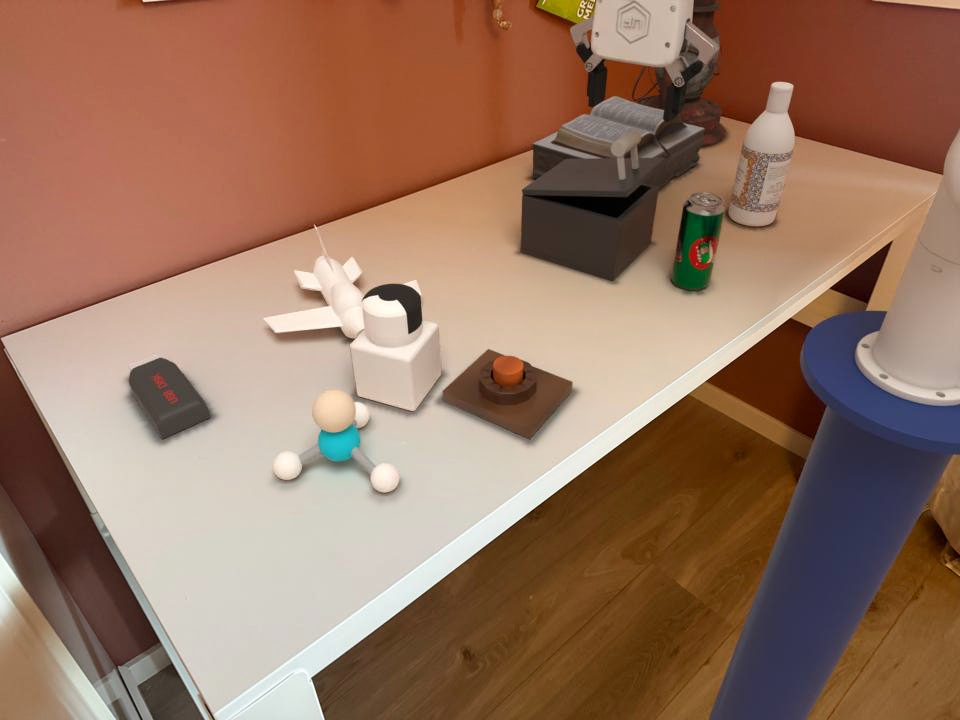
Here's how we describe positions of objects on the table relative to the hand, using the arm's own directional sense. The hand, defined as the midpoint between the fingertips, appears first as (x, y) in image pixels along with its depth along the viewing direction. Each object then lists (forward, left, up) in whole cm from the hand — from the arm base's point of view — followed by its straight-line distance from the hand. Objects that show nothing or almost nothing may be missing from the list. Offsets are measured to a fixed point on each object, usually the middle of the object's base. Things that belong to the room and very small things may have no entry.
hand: (632, 110), depth 84 cm
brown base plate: (-1, +30, -22) cm, 37 cm away
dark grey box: (+7, -4, -22) cm, 24 cm away
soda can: (-9, -4, -22) cm, 25 cm away
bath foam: (-10, -26, -22) cm, 36 cm away
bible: (+15, -32, -22) cm, 41 cm away
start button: (-1, +29, -20) cm, 35 cm away
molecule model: (+8, +46, -22) cm, 52 cm away
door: (+6, -4, -12) cm, 14 cm away
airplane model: (+26, +26, -22) cm, 43 cm away
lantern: (+14, -56, -22) cm, 61 cm away
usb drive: (+29, +50, -22) cm, 63 cm away
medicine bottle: (+10, +34, -22) cm, 42 cm away
